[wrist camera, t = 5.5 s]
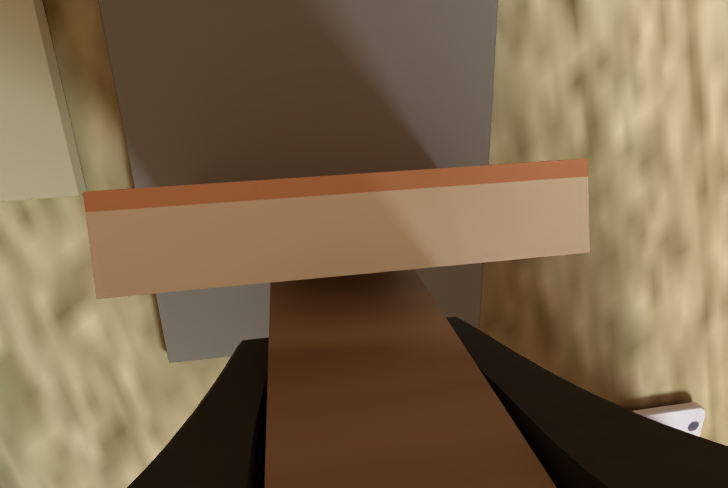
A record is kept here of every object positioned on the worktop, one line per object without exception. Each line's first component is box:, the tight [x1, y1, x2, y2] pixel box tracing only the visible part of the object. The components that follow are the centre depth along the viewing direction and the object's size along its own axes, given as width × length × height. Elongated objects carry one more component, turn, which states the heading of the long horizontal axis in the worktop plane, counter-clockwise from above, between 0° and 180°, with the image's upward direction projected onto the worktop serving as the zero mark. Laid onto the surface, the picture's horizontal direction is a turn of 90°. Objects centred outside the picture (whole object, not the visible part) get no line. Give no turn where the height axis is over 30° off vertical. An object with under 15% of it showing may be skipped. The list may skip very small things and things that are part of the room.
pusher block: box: [265, 269, 556, 488], centre depth 8 cm, size 3×3×8 cm
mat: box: [98, 0, 498, 363], centre depth 15 cm, size 16×11×1 cm
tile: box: [83, 159, 590, 299], centre depth 12 cm, size 2×8×8 cm, turn 92°
